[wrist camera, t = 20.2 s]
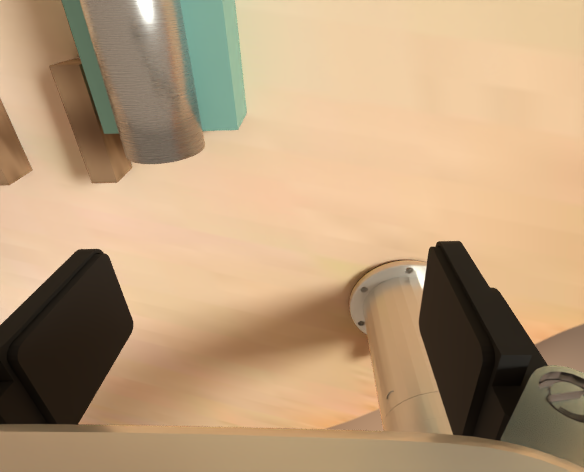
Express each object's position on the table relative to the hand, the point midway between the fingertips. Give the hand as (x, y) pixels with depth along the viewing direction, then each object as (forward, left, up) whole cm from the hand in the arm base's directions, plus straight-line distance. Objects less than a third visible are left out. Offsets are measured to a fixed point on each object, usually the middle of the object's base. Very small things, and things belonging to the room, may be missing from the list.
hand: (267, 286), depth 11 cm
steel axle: (+6, +10, -19) cm, 23 cm away
